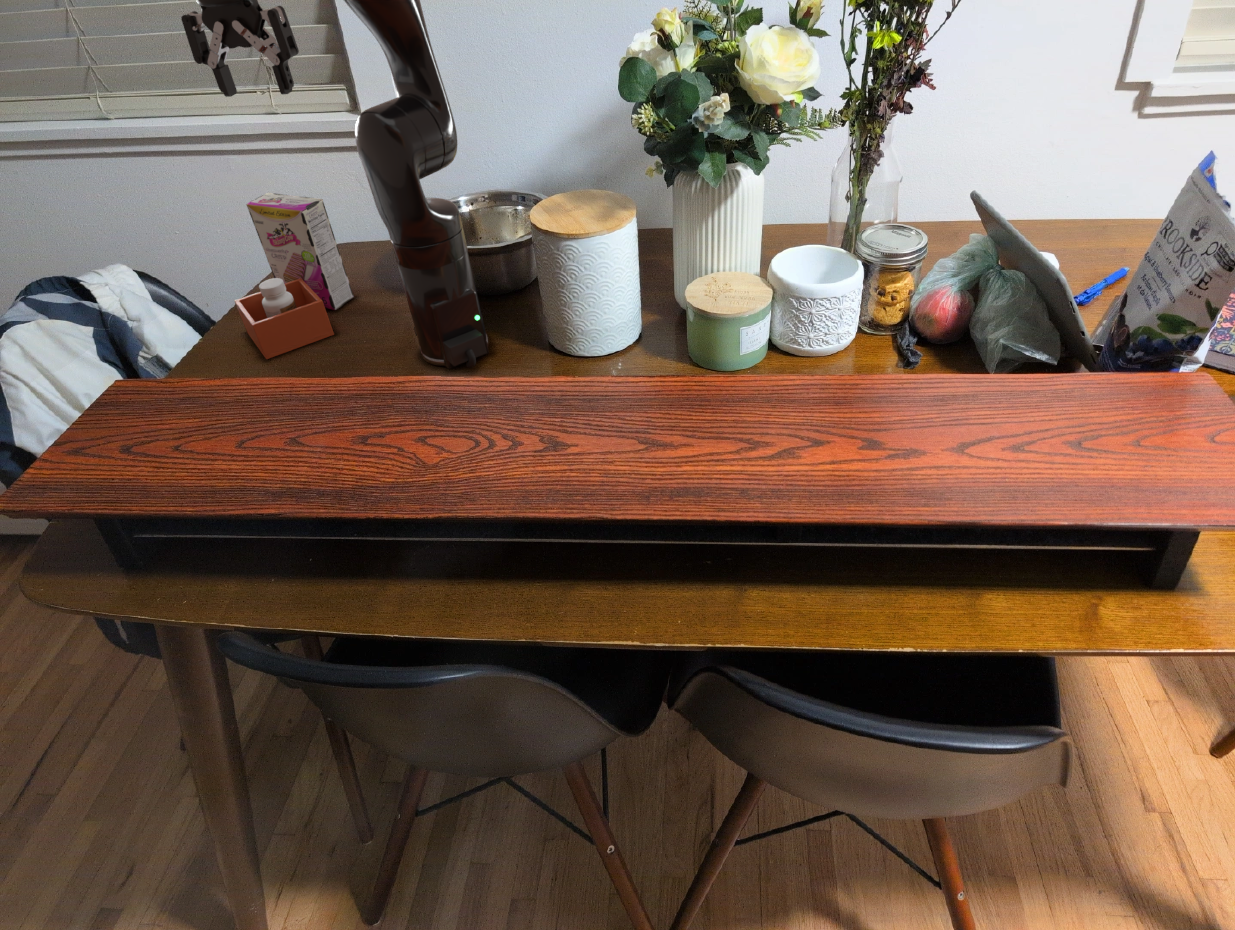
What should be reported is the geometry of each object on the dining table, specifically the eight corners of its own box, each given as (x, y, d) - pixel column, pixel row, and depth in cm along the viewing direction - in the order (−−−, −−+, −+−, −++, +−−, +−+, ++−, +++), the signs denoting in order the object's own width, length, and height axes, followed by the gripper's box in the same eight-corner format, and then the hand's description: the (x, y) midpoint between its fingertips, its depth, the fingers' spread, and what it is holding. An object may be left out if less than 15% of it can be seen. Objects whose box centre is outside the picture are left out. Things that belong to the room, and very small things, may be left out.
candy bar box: (281, 303, 136) (243, 203, 125) (302, 289, 139) (267, 191, 129) (335, 312, 131) (300, 209, 121) (355, 297, 135) (323, 196, 125)
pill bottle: (298, 336, 125) (280, 289, 120) (269, 338, 125) (250, 291, 120) (307, 322, 128) (290, 275, 123) (279, 324, 129) (261, 277, 124)
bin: (334, 334, 125) (322, 300, 122) (266, 359, 122) (252, 325, 118) (312, 310, 132) (301, 277, 129) (247, 333, 128) (233, 300, 125)
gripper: (147, -32, 105) (198, 104, 116) (250, -40, 103) (293, 100, 113) (181, -42, 111) (227, 88, 121) (279, -50, 108) (318, 84, 119)
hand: (259, 94), depth 117 cm, fingers open, 8 cm apart
